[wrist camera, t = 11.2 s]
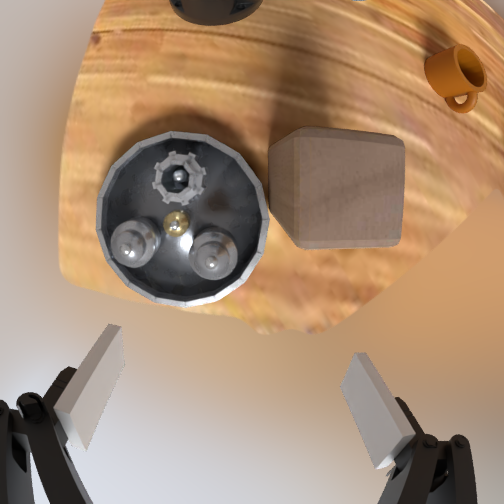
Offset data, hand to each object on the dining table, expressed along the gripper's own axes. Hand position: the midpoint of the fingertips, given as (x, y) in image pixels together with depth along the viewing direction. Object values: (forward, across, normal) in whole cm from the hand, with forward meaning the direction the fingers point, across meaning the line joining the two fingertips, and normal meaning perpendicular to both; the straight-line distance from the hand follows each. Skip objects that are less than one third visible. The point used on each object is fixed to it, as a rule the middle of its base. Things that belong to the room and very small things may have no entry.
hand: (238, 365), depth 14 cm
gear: (+27, -8, +8) cm, 30 cm away
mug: (+29, +32, +35) cm, 56 cm away
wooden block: (+29, +8, +10) cm, 32 cm away
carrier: (+29, -8, +2) cm, 30 cm away
